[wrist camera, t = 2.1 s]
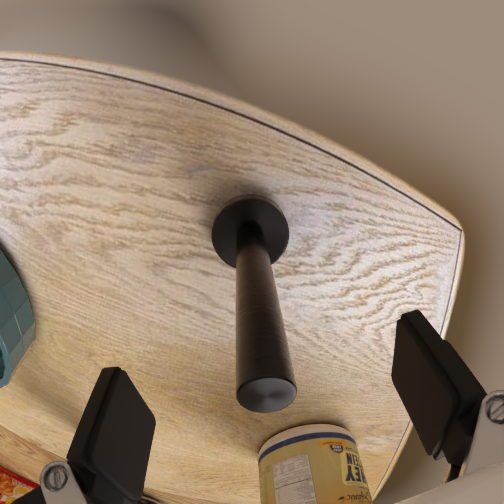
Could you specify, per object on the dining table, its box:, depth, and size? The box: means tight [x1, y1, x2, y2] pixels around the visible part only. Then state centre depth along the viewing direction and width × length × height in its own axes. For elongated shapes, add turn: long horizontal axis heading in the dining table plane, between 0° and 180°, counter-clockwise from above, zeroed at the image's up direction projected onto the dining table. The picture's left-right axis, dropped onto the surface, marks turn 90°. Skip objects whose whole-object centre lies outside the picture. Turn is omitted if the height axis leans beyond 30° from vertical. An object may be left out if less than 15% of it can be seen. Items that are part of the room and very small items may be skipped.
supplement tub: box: [258, 424, 373, 504], centre depth 25 cm, size 12×12×17 cm
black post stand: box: [212, 194, 297, 413], centre depth 15 cm, size 5×5×14 cm
